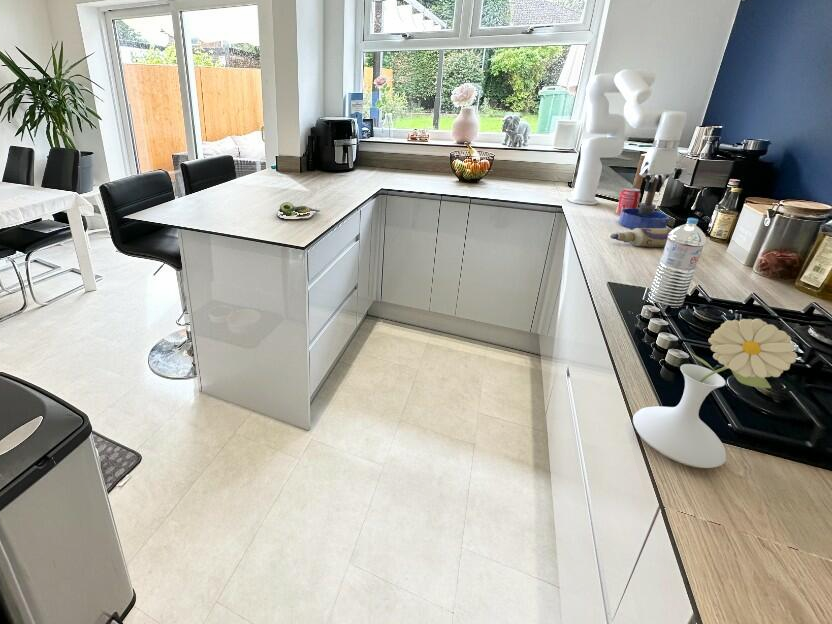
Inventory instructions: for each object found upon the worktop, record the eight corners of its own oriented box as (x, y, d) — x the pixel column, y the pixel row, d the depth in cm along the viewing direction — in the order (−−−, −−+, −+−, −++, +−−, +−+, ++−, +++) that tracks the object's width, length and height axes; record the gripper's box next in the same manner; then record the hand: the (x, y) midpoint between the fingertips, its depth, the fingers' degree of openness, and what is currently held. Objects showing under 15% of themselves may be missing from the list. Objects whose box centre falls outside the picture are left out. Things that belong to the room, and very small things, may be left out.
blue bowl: (610, 220, 172) (613, 208, 170) (645, 220, 172) (649, 208, 170) (636, 232, 158) (640, 219, 156) (674, 232, 157) (678, 219, 155)
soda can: (628, 213, 181) (635, 187, 177) (638, 217, 175) (646, 191, 171) (611, 212, 182) (618, 187, 178) (621, 217, 176) (628, 190, 171)
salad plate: (320, 209, 190) (320, 200, 189) (319, 220, 174) (318, 210, 172) (280, 209, 191) (280, 199, 190) (275, 220, 175) (274, 210, 173)
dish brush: (634, 212, 165) (644, 176, 160) (646, 212, 165) (657, 176, 160) (643, 215, 160) (654, 179, 155) (656, 215, 160) (667, 179, 155)
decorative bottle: (678, 243, 146) (684, 226, 144) (693, 251, 139) (700, 233, 137) (602, 240, 150) (607, 223, 147) (613, 247, 143) (618, 230, 140)
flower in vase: (616, 433, 66) (662, 302, 57) (648, 407, 72) (694, 283, 63) (720, 498, 56) (795, 350, 47) (748, 462, 61) (820, 322, 52)
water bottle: (662, 304, 105) (693, 214, 97) (685, 318, 99) (721, 223, 90) (637, 305, 105) (666, 214, 96) (659, 318, 99) (692, 223, 90)
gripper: (678, 143, 156) (664, 189, 163) (637, 143, 156) (624, 189, 163) (694, 145, 149) (679, 193, 156) (651, 146, 149) (638, 193, 156)
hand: (651, 191), depth 159 cm, fingers closed on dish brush, 2 cm apart
